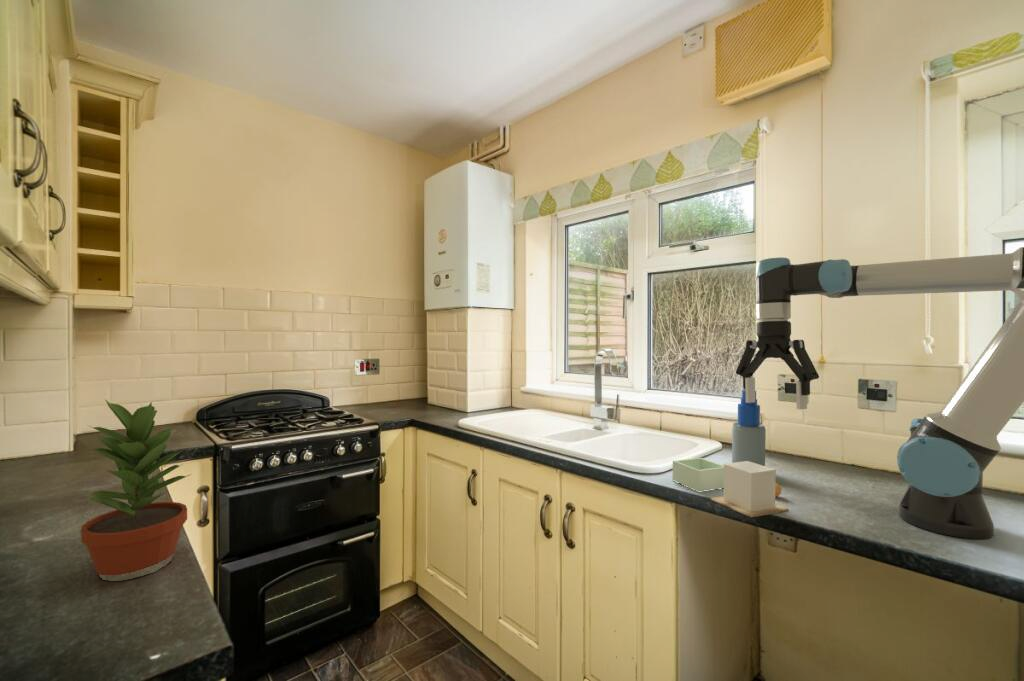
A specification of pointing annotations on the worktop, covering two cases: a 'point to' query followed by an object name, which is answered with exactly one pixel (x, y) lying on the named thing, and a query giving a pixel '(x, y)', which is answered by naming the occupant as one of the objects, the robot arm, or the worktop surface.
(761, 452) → the spray bottle
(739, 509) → the mat
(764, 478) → the block
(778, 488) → the ball
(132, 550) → the potted plant
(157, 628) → the worktop surface
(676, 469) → the tub
